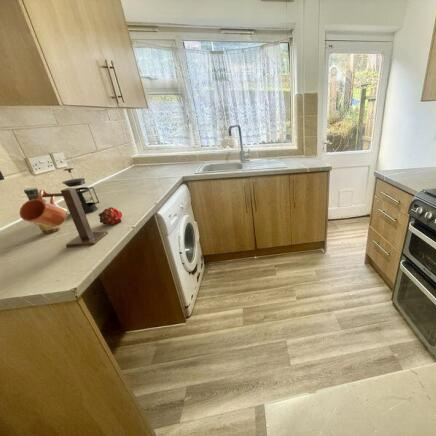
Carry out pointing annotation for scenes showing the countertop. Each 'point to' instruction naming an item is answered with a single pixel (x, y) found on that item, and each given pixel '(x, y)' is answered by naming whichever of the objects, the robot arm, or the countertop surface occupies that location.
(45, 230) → the sauce bottle
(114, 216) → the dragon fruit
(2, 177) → the robot arm
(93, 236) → the mug stand
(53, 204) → the garlic bulb
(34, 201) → the mug
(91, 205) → the french press
